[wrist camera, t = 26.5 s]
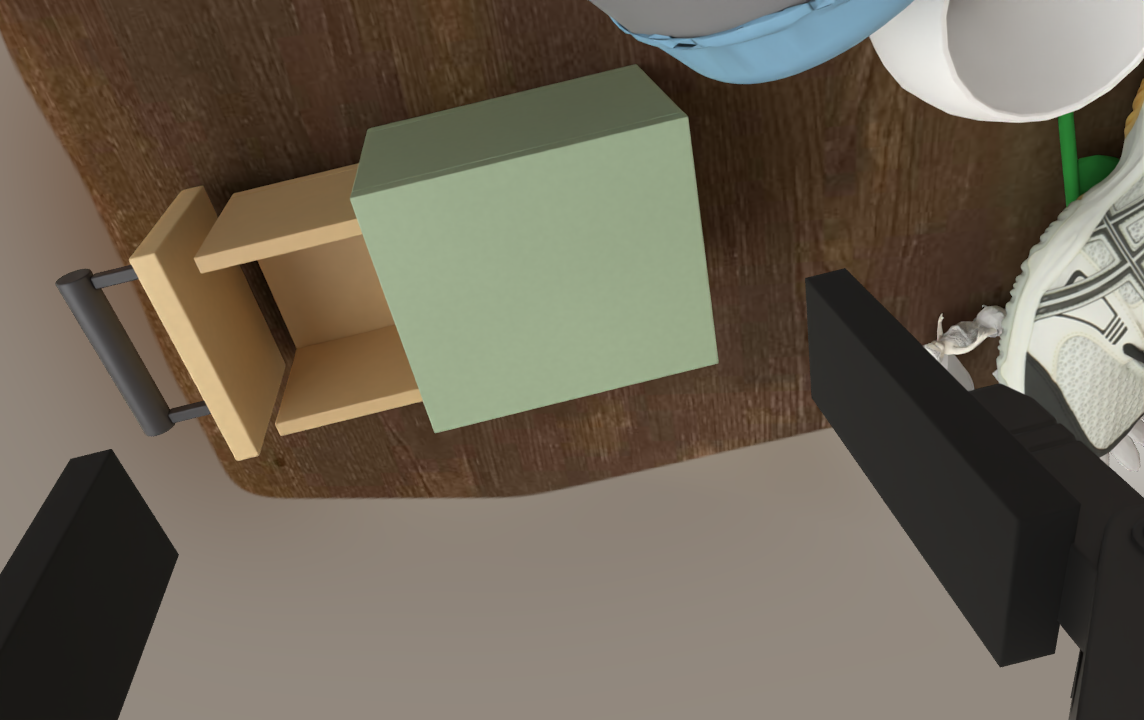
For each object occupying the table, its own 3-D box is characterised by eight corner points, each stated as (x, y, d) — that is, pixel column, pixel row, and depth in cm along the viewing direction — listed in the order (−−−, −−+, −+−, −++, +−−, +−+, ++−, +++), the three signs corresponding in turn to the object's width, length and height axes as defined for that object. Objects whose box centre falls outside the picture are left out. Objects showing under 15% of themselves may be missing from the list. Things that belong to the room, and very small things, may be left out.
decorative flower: (923, 68, 47) (989, 487, 59) (982, 70, 43) (1041, 521, 55) (1111, -10, 49) (1138, 414, 61) (1187, -17, 44) (1201, 442, 56)
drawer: (183, 390, 49) (138, 486, 42) (86, 212, 43) (12, 287, 35) (489, 315, 49) (498, 397, 42) (434, 128, 43) (434, 185, 36)
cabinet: (434, 331, 50) (434, 433, 41) (367, 128, 44) (349, 198, 35) (668, 273, 51) (718, 363, 42) (636, 63, 44) (688, 116, 35)
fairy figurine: (1045, 314, 52) (960, 360, 50) (1041, 404, 55) (961, 450, 53) (965, 285, 57) (885, 326, 55) (966, 370, 60) (891, 410, 58)
